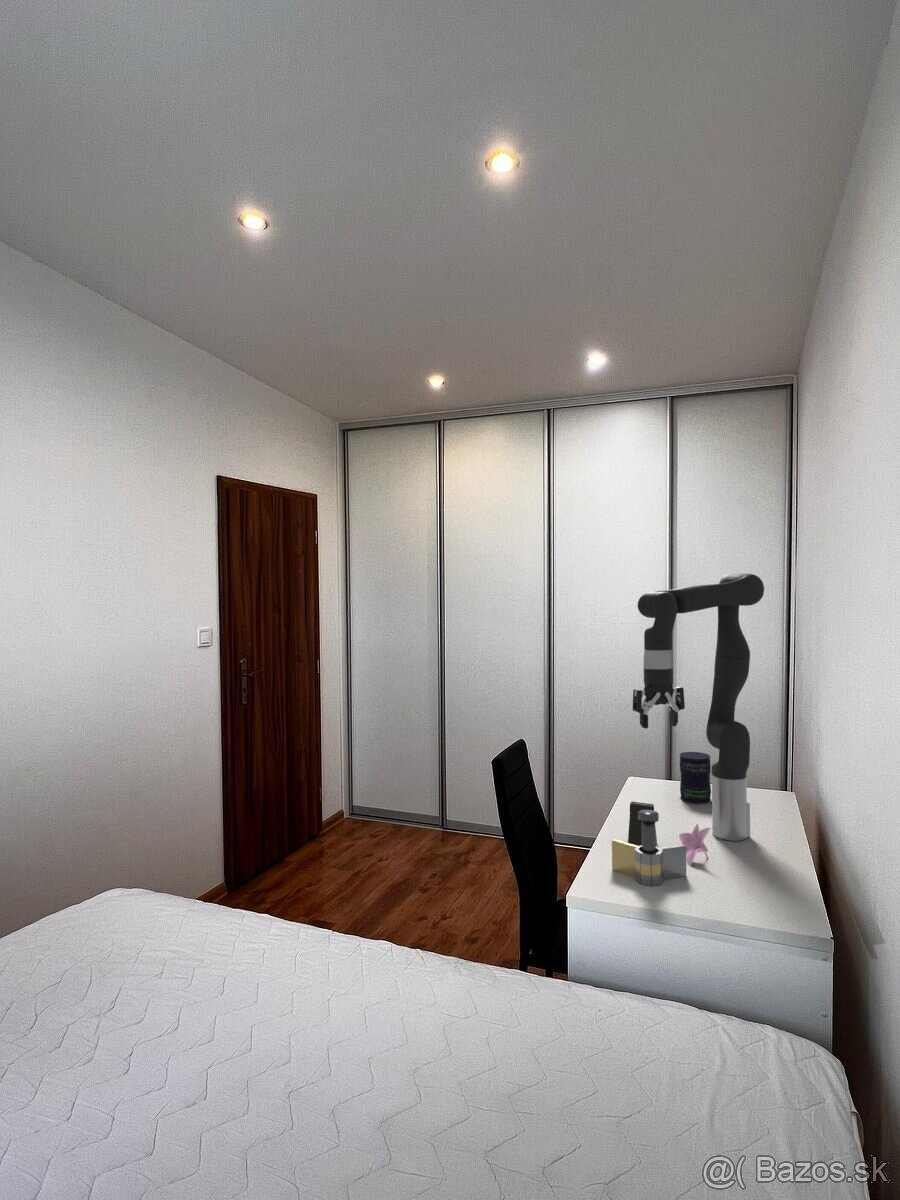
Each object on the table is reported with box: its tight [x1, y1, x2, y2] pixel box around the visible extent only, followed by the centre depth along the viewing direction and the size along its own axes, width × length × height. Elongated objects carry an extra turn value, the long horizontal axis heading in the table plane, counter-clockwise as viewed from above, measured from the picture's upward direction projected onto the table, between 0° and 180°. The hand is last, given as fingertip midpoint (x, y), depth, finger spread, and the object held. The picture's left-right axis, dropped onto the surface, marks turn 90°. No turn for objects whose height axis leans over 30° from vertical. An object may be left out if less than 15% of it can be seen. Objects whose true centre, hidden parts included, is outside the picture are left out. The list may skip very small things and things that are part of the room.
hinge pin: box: [638, 810, 660, 854], centre depth 164 cm, size 5×5×16 cm
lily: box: [678, 823, 712, 867], centre depth 177 cm, size 11×11×9 cm
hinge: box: [611, 838, 687, 887], centre depth 168 cm, size 15×12×8 cm
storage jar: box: [679, 751, 712, 805], centre depth 227 cm, size 10×10×15 cm
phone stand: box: [627, 801, 658, 846], centre depth 186 cm, size 9×6×12 cm, turn 150°
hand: (659, 726), depth 181 cm, fingers open, 8 cm apart
